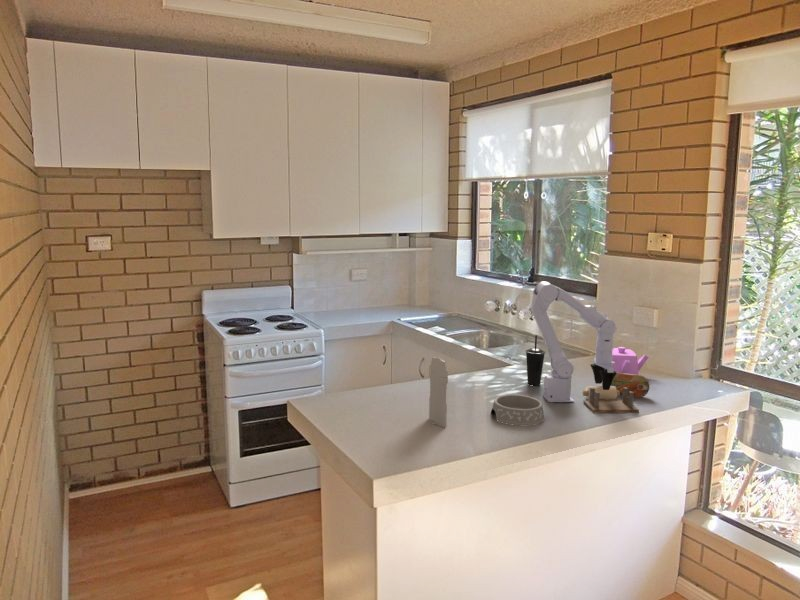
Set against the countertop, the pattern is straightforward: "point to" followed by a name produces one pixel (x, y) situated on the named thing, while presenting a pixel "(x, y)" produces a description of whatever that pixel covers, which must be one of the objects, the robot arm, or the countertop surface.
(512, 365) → the countertop surface
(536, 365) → the drinking cup
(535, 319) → the robot arm
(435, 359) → the dispenser
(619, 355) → the teakettle
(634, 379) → the tin
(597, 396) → the holder
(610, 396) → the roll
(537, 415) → the dog bowl
